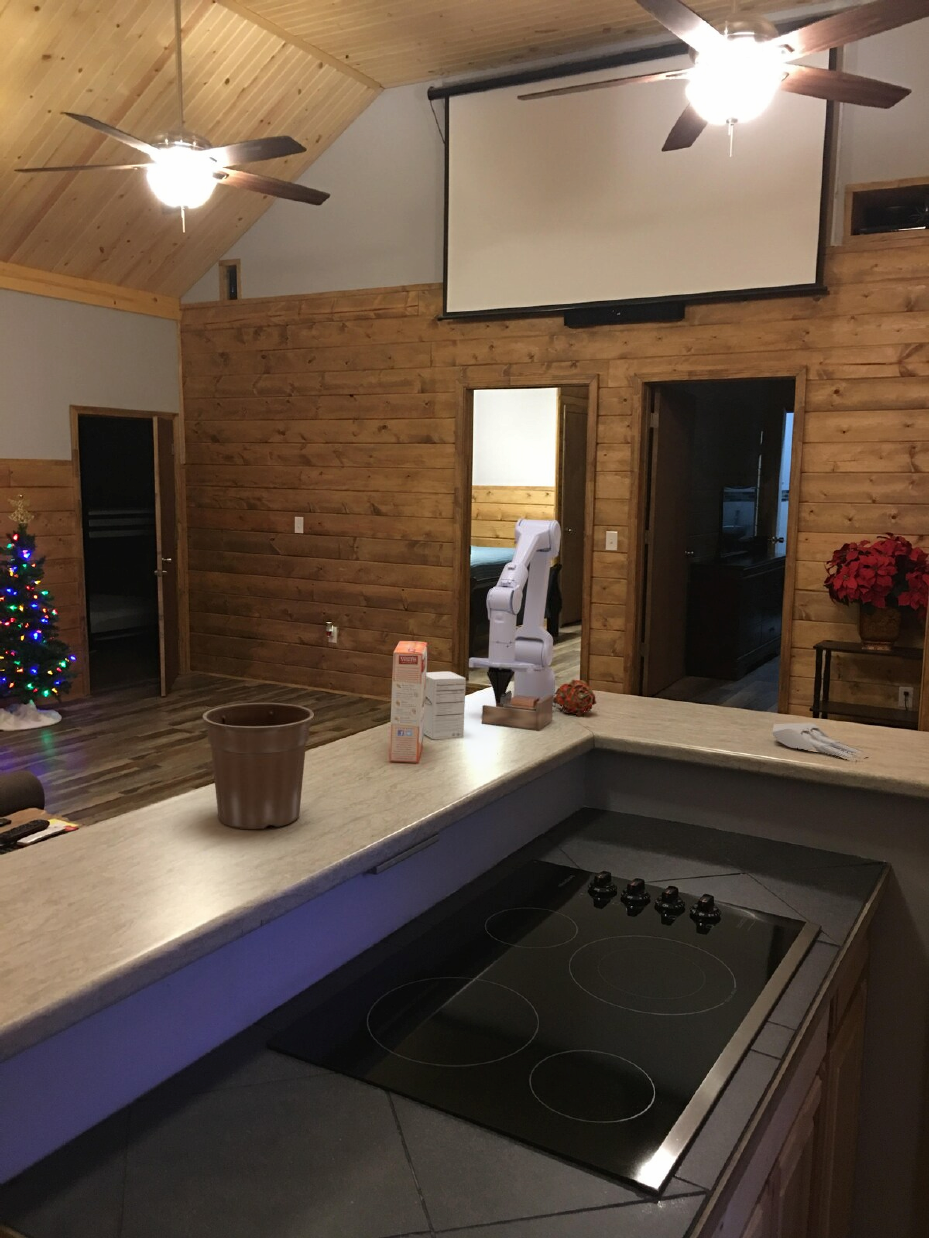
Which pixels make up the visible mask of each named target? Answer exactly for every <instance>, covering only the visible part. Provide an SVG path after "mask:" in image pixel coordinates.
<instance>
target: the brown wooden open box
mask: <svg viewBox="0 0 929 1238" xmlns="http://www.w3.org/2000/svg"><path fill="white" fill-rule="evenodd" d="M481 708H482V709H481V724H482V725H489V726H496V727H497V726H498V727H506V728H513V729H514V728H515V729H522V730H527V731H529V730H530V731H536V732H537V731H538V732H539V731H541V730H542V729H544V728H545V727H546V726H548V725H549V724H550V723H552V721H553V695H548V696H547V697H545V698H544V699H542V700H540V701H539V702H537V707H536V711H530V710H521V709H513V708H504V707H500V703H496V702H495V705H486V704H484V705H482V707H481Z"/></svg>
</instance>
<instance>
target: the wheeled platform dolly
mask: <svg viewBox="0 0 929 1238" xmlns="http://www.w3.org/2000/svg"><path fill="white" fill-rule="evenodd" d="M512 693H513V692H512V690H508V691H506V693H504V694H503V695H501V699H500V707H504V708H513V709H521V710H530V711H536V707H537V702H539V700H540V697H532V696H523V695H516V696H514V695H513V694H512Z"/></svg>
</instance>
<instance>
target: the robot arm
mask: <svg viewBox="0 0 929 1238" xmlns="http://www.w3.org/2000/svg"><path fill="white" fill-rule="evenodd" d="M561 531H562V530H561V526H560V523H559V522H558V520H556V519H553V520H547V519H545V520H544V519H543V520H541V519H525V518H519V519H518V520H517V522H516V523H515V525H514V532H513V533H514V540H515V544H516V547H515V550H514V554H513V558H512V560H511V562H507V563H506V564H505V566H503V567H504V568H503V570H502V572H501V573H500V576H499V579H498V581H497V584H496V585H495V586H493V588H490V589H489V591H488V593H487V596H486V608H487V618H488V620H489V635H488V636H489V638H488V639H489V640H488V641H489V643H488V658H487V657H483V658H482V657H470V658H468V667H469V668H479V669H480V668H481V669H488V670H487V672H486V675H487V677H488V680H489V682H490V684H491V687H492V690H493V694H494V698H495V699H494V702H495V704H496V703H500V699H501V695H503V694H504V693H506V692H507V690H508V687H509V685H510V683H511V680H512V679H514V681H513V697H514V696H516V695H523V696H532V697H540V700H542V699H544V698H545V697H547V696H548V695H553V697H554V698H555V697H556V696H555V695H556V694H555V693H556V675H555V671H554V670H553V668H551V666H550V665H551V664H552V662H553V659H554V658H553V657H554V645H553V644H554V639H553V636H552V634H550V633H549V632H548V631H547V630H546V628H545V627H544V620H545V614H546V613H545V611H546V606H547V605H546V604H547V594H548V588H549V579H550V569H551V565H552V559H554V558H557V557H558V556H559V551H560V545H561V537H562V533H561ZM528 566H529V570H528ZM526 583H527V587H526V595H525V596H526V597H525V603H524V606H525V607H524V613H523V620H522V625H521V626H520V627H518V628H517V614H518V613H519V612H520V610H521V607H522V599H523V590H524V587H525V585H526ZM534 639H535V640H534ZM513 677H514V678H513ZM552 693H553V694H552ZM540 700H539V701H540ZM556 705H557V704H554V703H553V706H556Z"/></svg>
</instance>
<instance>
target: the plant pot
mask: <svg viewBox="0 0 929 1238" xmlns="http://www.w3.org/2000/svg"><path fill="white" fill-rule="evenodd" d="M314 716H315V715H314V712H313V710H311V709H310V708H308V707H305V706H301V705H298V704H289V703H287V704H286V703H278V702H249V703H248V702H247V703H237V704H230V705H223V706H219V707H215V708H213V709H210V710H208V711H206V712H204V713H203V715H202V720H203V722H204V723H205V724H206V733H207V739H208V740H207V742H208V744H209V745H210V749H211V750H210V751H211V758H212V767H213V779H214V788H215V799H216V807H217V809H216V810H217V818H218V820H220V821H221V823H222V824H223V825H225V826H229V827H232V828H234V829H239V830H240V829H241V830H263V829H266V828H267V827H269V826H274V827H276V828H278V827H282V826H285V825H288V824H291V823H293V822H295V821H296V820H297V819H298V818H299V817H300V814H301V813H300V812H301V802H302V791H303V782H304V781H303V778H304V770H305V769H304V768H305V759H306V758H305V757H306V750H307V749H306V747H307V743H308V742H309V736H310V728H311V727H310V726H311V721H312V720H313V719H314Z"/></svg>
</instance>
